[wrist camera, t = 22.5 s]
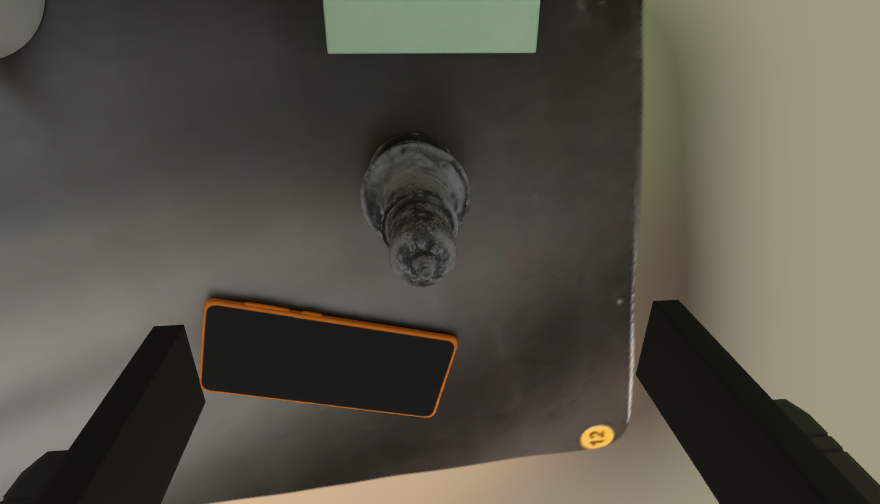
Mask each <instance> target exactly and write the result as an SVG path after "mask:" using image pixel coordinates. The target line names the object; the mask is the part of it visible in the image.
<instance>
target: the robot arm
mask: <svg viewBox="0 0 880 504" xmlns="http://www.w3.org/2000/svg"><path fill="white" fill-rule="evenodd" d="M636 376H637V377H638V379H639V380H640V382H641V384H642V385H643V386H644V388H645V390H646V391H647V393H648V394H649V396H650V397H651V399H652V400H653V402H654V403H655V405H656V407H657V408H658V410H659V411H660V413H661V414H662V416H663V417H664V419H665V420H666V422H667V424H668V425H669V427H670V428H671V430H672V431H673V433H674V434H675V436H676V437H677V439H678V441H679V442H680V444H681V445H682V447H683V448H684V450H685V451H686V453H687V454H688V456H689V457H690V459H691V461H692V462H693V464H694V465H695V467H696V468H697V470H698V471H699V473H700V474H701V476H702V477H703V479H704V481H705V482H706V484H707V485H708V487H709V488H710V490H711V491H712V493H713V494H714V496H715V497H716V499H717V501H718V502H719V504H880V485H879V484H878V483H877V482H876V481H875V480H874V479H873V478H872V477H871V476H870V475H869V474H868V473H867V472H866V471H865V470H864V469H863V468H862V467H861V466H860V465H859V464H858V463H857V462H856V461H855V460H854V459H853V458H852V457H851V456H850V455H849V454H848V453H847V452H844V451H843V448H842V447H841V446H840V445H839V444H838V443H837V442H836V441H835V440H834V439H833V438H832V437H831V436H828V435H827V432H826V431H825V430H824V429H823V428H822V427H821V426H820V425H819V424H818V423H817V422H816V421H815V420H814V419H813V418H812V417H811V416H810V415H809V414H808V413H806V412H805V411H803V410H802V409H800V408H799V407H797V406H795V405H794V404H792V403H791V402H789V401H788V400H786V399H779V400H772V399H771V398H770V396H768V394H767V393H766V392H765V391H764V390H763V389H762V388H761V387H760V386H759V385H758V384H757V383H756V382H755V381H754V380H753V379H752V378H751V376H750V375H749V374H748V373H747V372H746V371H745V370H744V369H743V368H742V367H741V366H740V365H739V364H738V363H737V362H736V361H735V359H734V358H733V357H732V356H731V355H730V354H729V353H728V352H727V351H726V350H725V349H724V348H723V347H722V346H721V345H720V344H719V343H718V341H717V340H716V339H715V338H714V337H713V336H712V335H711V334H710V333H709V332H708V331H707V330H706V329H705V328H704V327H703V325H702V324H701V323H700V322H699V321H698V320H697V319H696V318H695V317H694V316H693V315H692V314H691V313H690V312H689V311H688V310H687V309H686V307H684V305H683V304H682V303H680V301H679V300H666V301H653V304H652V308H651V312H650V317H649V321H648V325H647V329H646V334H645V338H644V342H643V346H642V351H641V355H640V359H639V363H638V367H637V371H636ZM204 404H205V398H204V395H203V391H202V388H201V384H200V381H199V377H198V373H197V370H196V366H195V363H194V359H193V356H192V352H191V349H190V345H189V341H188V338H187V334H186V331H185V327H184V325H170V326H154V327H153V328H152V330H151V331H150V333H149V334H148V336H147V337H146V339H145V340H144V341H143V343H142V344H141V346H140V347H139V349H138V350H137V352H136V353H135V354H134V356H133V357H132V359H131V360H130V362H129V363H128V365H127V366H126V367H125V369H124V370H123V372H122V373H121V375H120V376H119V378H118V379H117V380H116V382H115V383H114V385H113V386H112V388H111V389H110V391H109V392H108V393H107V395H106V396H105V398H104V399H103V401H102V402H101V404H100V405H99V406H98V408H97V409H96V411H95V412H94V414H93V415H92V417H91V418H90V419H89V421H88V422H87V424H86V425H85V427H84V428H83V430H82V431H81V432H80V434H79V435H78V437H77V438H76V440H75V441H74V443H73V444H72V445H71V447H70V448H69V450H64V451H49V452H46V453H45V454H44V455H43V456H41V457H40V458H39V459H38V460H37V461H35V462H34V463H33V464H32V465H30V466H29V467H28V468H27V469H26V470H24V471H23V472H22V473H21V474H20V476H19V477H18V478H17V479H16V481H15V482H14V483H13V485H12V486H11V487H10V489H9V490H8V491H7V493H6V494H5V495H4V499H3V501H1V502H0V504H161V502H162V500H163V497H164V495H165V493H166V491H167V488H168V486H169V484H170V481H171V479H172V477H173V475H174V472H175V470H176V468H177V466H178V463H179V461H180V459H181V456H182V454H183V452H184V450H185V447H186V445H187V443H188V441H189V438H190V436H191V434H192V431H193V429H194V427H195V425H196V422H197V420H198V418H199V416H200V413H201V411H202V409H203V406H204Z"/></svg>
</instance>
